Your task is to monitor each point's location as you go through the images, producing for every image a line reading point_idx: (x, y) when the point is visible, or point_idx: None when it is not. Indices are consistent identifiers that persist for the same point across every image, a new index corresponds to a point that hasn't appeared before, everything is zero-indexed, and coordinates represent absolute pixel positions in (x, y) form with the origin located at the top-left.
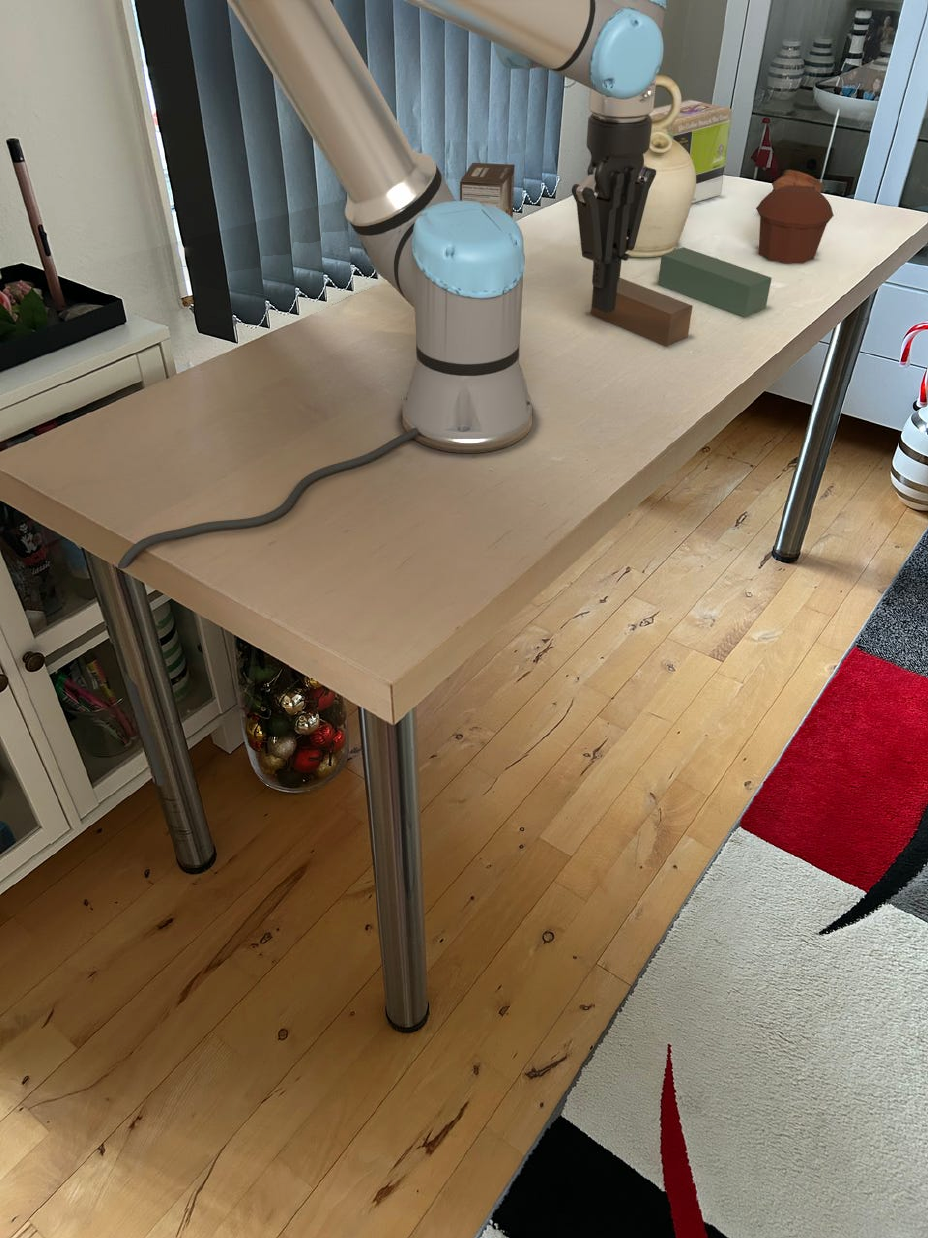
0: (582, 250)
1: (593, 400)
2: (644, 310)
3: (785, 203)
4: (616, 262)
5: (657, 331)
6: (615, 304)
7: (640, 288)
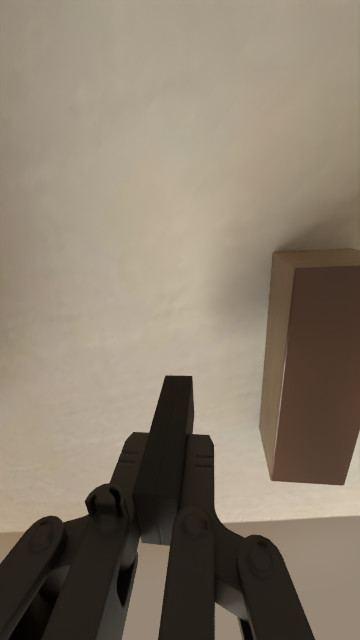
0: (10, 557)
1: (59, 451)
2: (272, 419)
3: None
4: (166, 543)
5: (264, 424)
6: (277, 339)
7: (356, 374)
